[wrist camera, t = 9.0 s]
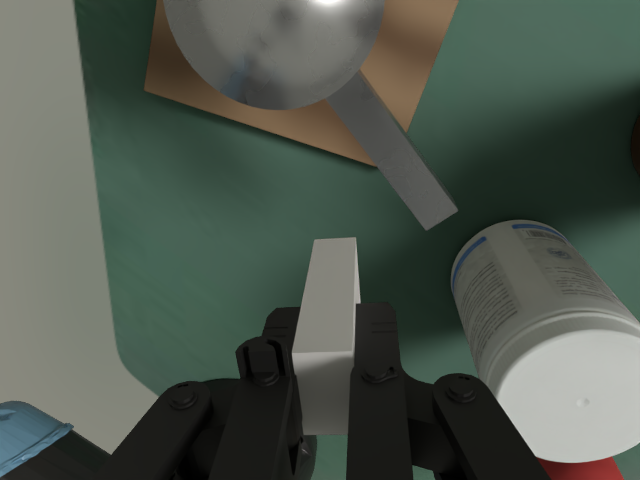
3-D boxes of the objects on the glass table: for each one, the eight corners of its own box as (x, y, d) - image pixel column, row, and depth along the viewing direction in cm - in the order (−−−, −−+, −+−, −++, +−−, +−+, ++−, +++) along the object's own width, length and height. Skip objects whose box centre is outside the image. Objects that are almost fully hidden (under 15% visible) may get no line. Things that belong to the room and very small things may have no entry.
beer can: (553, 356, 44) (613, 476, 33) (590, 404, 46) (659, 532, 35) (485, 391, 46) (521, 514, 35) (524, 435, 48) (569, 565, 37)
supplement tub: (478, 336, 43) (526, 487, 30) (428, 249, 40) (457, 374, 27) (593, 290, 41) (701, 434, 27) (549, 192, 37) (648, 301, 24)
